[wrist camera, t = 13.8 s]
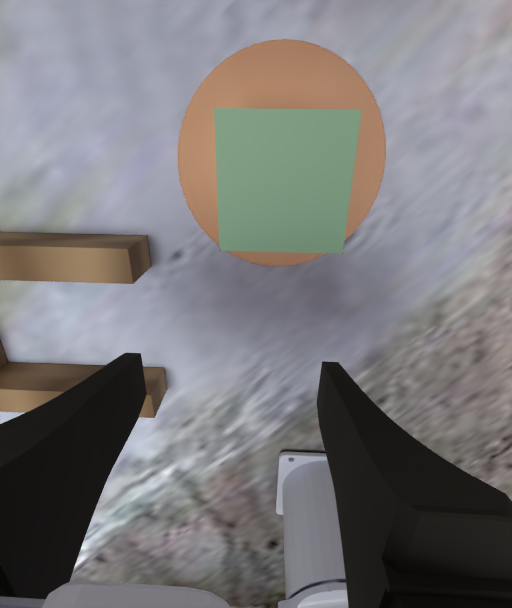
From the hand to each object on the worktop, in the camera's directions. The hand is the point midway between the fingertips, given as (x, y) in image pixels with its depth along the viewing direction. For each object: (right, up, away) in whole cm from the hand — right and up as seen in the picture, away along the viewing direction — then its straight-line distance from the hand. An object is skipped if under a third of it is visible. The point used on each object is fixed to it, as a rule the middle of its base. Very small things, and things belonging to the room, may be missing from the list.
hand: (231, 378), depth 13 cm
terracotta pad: (+2, +11, +5) cm, 12 cm away
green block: (+2, +10, +5) cm, 11 cm away
